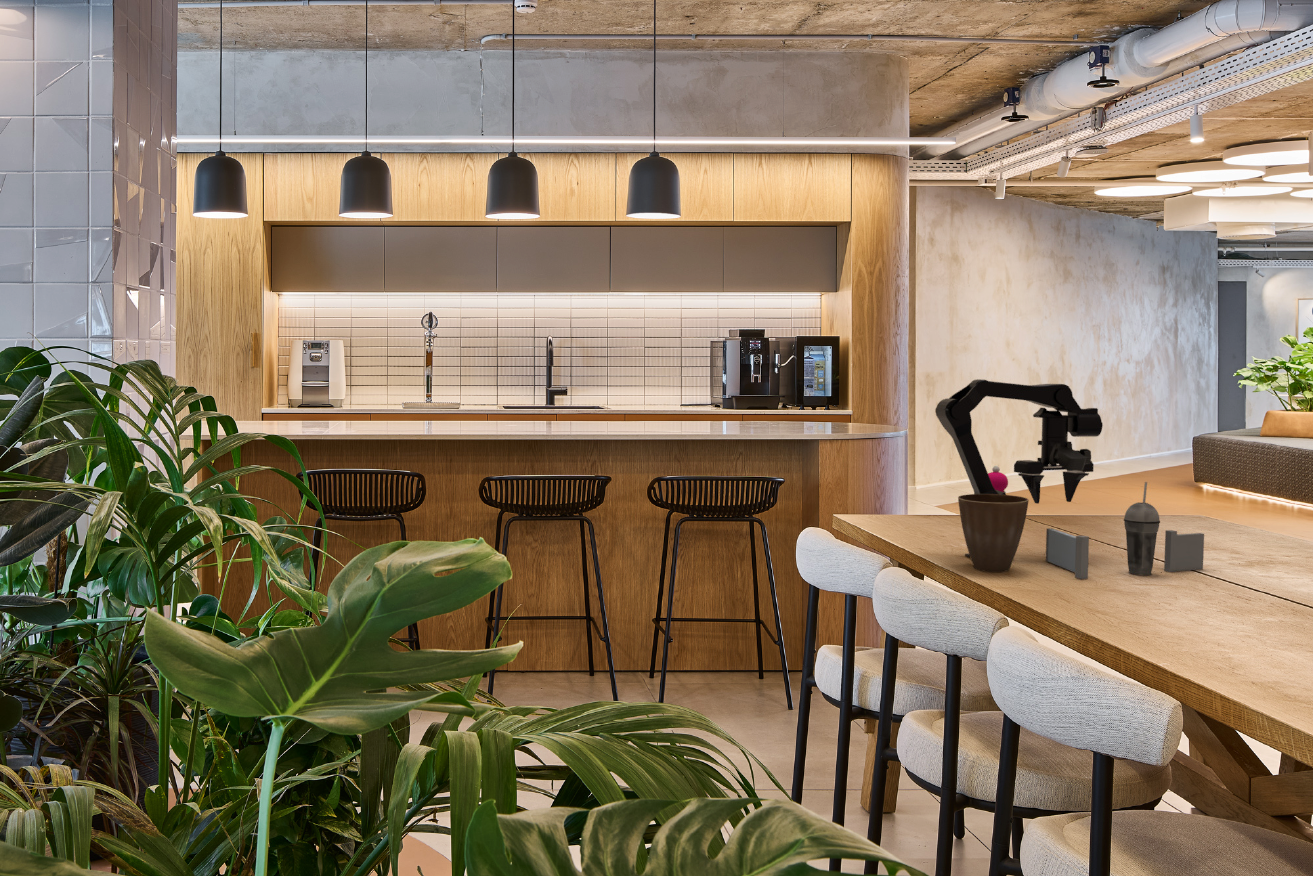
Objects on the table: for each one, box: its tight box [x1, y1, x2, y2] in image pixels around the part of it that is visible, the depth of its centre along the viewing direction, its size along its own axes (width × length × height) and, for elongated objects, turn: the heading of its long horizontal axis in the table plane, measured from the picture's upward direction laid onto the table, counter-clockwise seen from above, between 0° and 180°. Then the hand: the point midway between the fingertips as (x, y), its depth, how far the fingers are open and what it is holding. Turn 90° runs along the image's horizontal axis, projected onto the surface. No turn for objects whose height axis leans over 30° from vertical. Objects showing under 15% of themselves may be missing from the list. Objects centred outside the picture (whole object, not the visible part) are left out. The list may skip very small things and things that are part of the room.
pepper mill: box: [987, 465, 1009, 493], centre depth 259 cm, size 7×7×20 cm
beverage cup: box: [1123, 481, 1161, 576], centre depth 221 cm, size 7×7×20 cm
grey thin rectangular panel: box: [1045, 527, 1077, 573], centre depth 226 cm, size 17×1×8 cm, turn 4°
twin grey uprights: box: [1074, 529, 1205, 580], centre depth 221 cm, size 34×2×9 cm, turn 109°
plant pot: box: [957, 493, 1029, 573], centre depth 226 cm, size 15×15×16 cm
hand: (1052, 502), depth 240 cm, fingers open, 9 cm apart
